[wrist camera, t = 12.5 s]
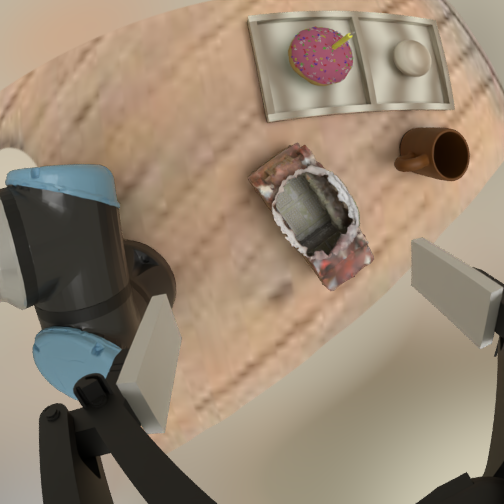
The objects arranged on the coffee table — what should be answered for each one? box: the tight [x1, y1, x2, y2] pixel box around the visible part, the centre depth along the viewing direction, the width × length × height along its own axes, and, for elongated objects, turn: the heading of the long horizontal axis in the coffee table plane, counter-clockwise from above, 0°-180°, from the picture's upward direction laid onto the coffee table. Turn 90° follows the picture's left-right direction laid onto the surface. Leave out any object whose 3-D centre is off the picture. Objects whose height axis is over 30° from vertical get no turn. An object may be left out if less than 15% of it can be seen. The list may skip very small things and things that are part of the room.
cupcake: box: [288, 26, 355, 86], centre depth 33 cm, size 9×8×12 cm
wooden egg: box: [393, 40, 431, 77], centre depth 36 cm, size 6×6×6 cm
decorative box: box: [248, 143, 374, 291], centre depth 42 cm, size 13×20×10 cm, turn 29°
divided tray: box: [247, 11, 455, 123], centre depth 39 cm, size 31×16×2 cm, turn 100°
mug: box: [394, 128, 470, 181], centre depth 40 cm, size 12×8×9 cm, turn 109°
